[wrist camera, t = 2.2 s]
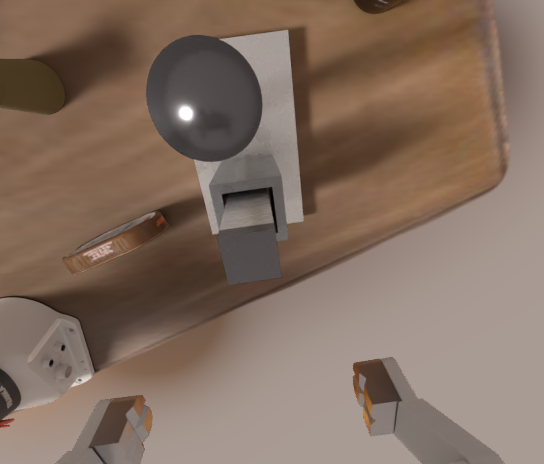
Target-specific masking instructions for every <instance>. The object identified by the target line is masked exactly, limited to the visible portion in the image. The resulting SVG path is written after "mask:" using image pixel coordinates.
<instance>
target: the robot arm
mask: <svg viewBox="0 0 544 464" xmlns="http://www.w3.org/2000/svg"><path fill="white" fill-rule="evenodd" d="M353 371H354V373H355V375H354V376H353V385H354V391H355V394H356V398H357V400H358V403H359V405H361V406H362V407H363V417H364V420H365V423H366V426H367V428H368V431H369V434H370V436H377V435H385V434H393V433H394V435H395V436H396V437H397V438H398V439H399V440H400V441H401V442H402V443H403V444H404V446H405V447H406V448H407V449H408V450H409V451H410V452H411V453H412V454H413V455H414V456H415V457H416V458H417V459H418V460H419V461H420V462H421V463H422V464H504V462H503V461H502V459H501V458H500V457H499V455H498V454H496V453H495V452H494V451H493V450H491V449H490V448H489V447H487V446H486V445H485V444H483V443H482V442H481V441H479V440H478V439H476V438H475V437H474V436H472V435H471V434H469V433H468V432H467V431H466V430H464V429H463V428H462V427H460V426H459V425H457V424H456V423H454V422H453V421H452V420H451V419H449V418H448V417H447V416H445V415H444V414H443V413H441V412H440V411H438V410H437V409H436V408H434V407H433V406H431V405H430V404H429V403H428V402H426V401H425V400H423V399H418V398H417V396H416V395H415V393H414V391H413V390H412V388H411V386H410V384H409V382H408V381H407V379H406V377H405V376H404V374H403V372H402V370H401V368H400V367H399V365H398V363H397V362H396V360H395V359H394V358H393V357H389V358H384V359H374V360H368V361H362V362H356V363H354V364H353ZM94 374H95V372H94V368H93V365H92V361H91V358H90V355H89V352H88V348H87V345H86V342H85V339H84V335H83V332H82V329H81V325H80V322H79V321H78V320H77V319H76V318H74V317H71V316H68V315H64V314H60V313H58V312H56V311H54V310H53V309H51V308H49V307H47V306H45V305H43V304H41V303H38V302H36V301H32V300H29V299H24V298H14V297H10V298H1V299H0V428H5V427H9V426H10V425H4V424H8V423H10V422H12V421H14V419H8V420H2V419H3V418H4V417H6V416H7V415H8V414H10V413H11V412H12V411H14V410H19V409H25V408H29V407H35V406H39V405H44V404H47V403H50V402H53V401H55V400H57V399H58V398H60V397H61V396H62V395H63V394H65V393H66V392H67V390H68V389H69V388H70V387H73V386H76V385H79V384H82V383H84V382H86V381H88V380H89V379H91V378H92V376H93V375H94ZM144 403H145V398H144V396H143V395H136V396H128V397H122V398H112V399H105V400H100V401H99V402H98V403H97V404H96V406H95V408H94V410H93V412H92V413H91V415H90V417H89V419H88V421H87V423H86V425H85V427H84V429H83V431H82V433H81V434H80V436H79V438H78V440H77V442H76V444H75V446H74V448H73V450H72V451H68V452H67V453H66V454H65V455H64V456H63V457H62V458H61V459H60V460H58V462H56V463H55V464H140V463H141V459H142V456H143V453H144V450H145V448H144V445H143V442H144V441H145V439H146V438H147V437H148V436H149V433H150V430H151V427H152V412H151V409H150V407H148V406H146V405H144Z"/></svg>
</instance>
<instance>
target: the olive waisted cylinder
mask: <svg viewBox="0 0 544 464" xmlns="http://www.w3.org/2000/svg"><path fill="white" fill-rule="evenodd" d="M64 102H65V90H64V87H63V84H62V82H61V80H60V78H59V77H58V75H57V74H56V73H55V72H54V71H53V70H52V69H51V68H50V67H49V66H47V65H46V64H44V63H43V62H40V61H37V60H34V59H0V108H5V109H12V110H18V111H25V112H31V113H38V114H53V113H56V112H58V111H59V110H60V109H61V108H62V107H63V104H64Z"/></svg>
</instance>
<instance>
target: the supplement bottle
mask: <svg viewBox="0 0 544 464" xmlns="http://www.w3.org/2000/svg"><path fill="white" fill-rule="evenodd" d="M401 1H402V0H354V2H355V3H356V5H357V6H358V7H359V8H360V9H361V10H363V11H364V12H367V13H370V14H378V13H382V12H384V11H386V10H388V9H390V8H391V7H393V6H395V5H396V4H398V3H399V2H401Z"/></svg>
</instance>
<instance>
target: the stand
mask: <svg viewBox="0 0 544 464" xmlns="http://www.w3.org/2000/svg"><path fill="white" fill-rule="evenodd" d="M146 97H147V105H148V109H149V113H150V116H151V118H152V121H153V123H154V125H155V127H156V129H157V130H158V132H159V133H160V135H161V136H162V137H163V139H164V140H165V141H166V142H167V143H168V144H169V145H170V146H171V147H172V148H174V149H175V150H176V151H178V152H179V153H181V154H183V155H185V156H187V157H189V158H191V159H194V161H195V165H196V169H197V173H198V177H199V181H200V185H201V189H202V193H203V197H204V201H205V205H206V209H207V214H208V218H209V222H210V226H211V230H212V234H218V233H219V229H220V225H221V221H222V217H223V213H224V209H225V205H226V201H227V197H228V194H229V193H232V192H239V191H246V190H253V189H260V188H268V195H269V200H270V205H271V211H272V216H273V221H274V226H275V232H276V239H277V241H284V240H289V239H288V230H287V224H288V223H295V222H302V221H304V220H303V208H302V196H301V183H300V171H299V159H298V146H297V134H296V122H295V109H294V97H293V84H292V72H291V60H290V47H289V35H288V30H283V31H276V32H268V33H261V34H254V35H246V36H239V37H232V38H224V39H217V38H214V37H210V36H204V35H192V36H187V37H183V38H180V39H178V40H175V41H174V42H172V43H171V44H169V45H168V46H166V47H165V48H164V49H163V50H162V51H161V52H160V54H159V55H158V56H157V57H156V59H155V61H154V62H153V64H152V67H151V69H150V72H149V75H148V79H147V87H146Z"/></svg>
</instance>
